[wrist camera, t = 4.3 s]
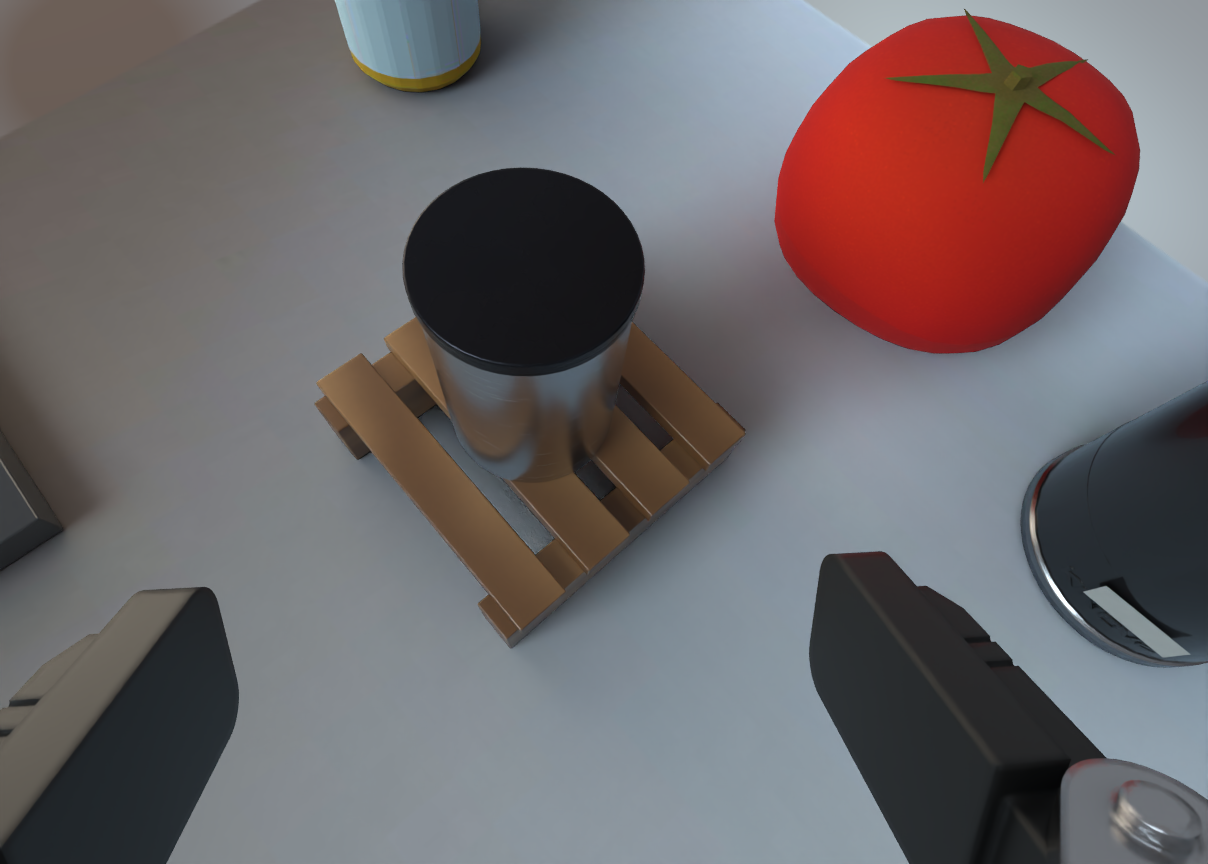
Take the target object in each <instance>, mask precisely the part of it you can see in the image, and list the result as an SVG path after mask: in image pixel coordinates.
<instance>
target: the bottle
mask: <svg viewBox="0 0 1208 864" xmlns="http://www.w3.org/2000/svg"><path fill="white" fill-rule="evenodd" d="M335 2H336V6H337V9H338V12H339V16H340V19H341V23H342V26H343V29H344V33H345V36H346V39H347V43H348V46H349V48H350V51H351V54H352V57H353V59H354V61H355V62H356V64H357V65H358V66H359V67H360V69H361V70H362V71H363V72H364V73H366V74H367V75H369V76H370V77H372V78H374V79H375V80H377V81H379V82H380V83H382V84H384V85H386V86H388V87H391V88H395V89H398V90H401V91H409V92H425V91H431V90H437V89H441V88H443V87H445V86H447V85H450V84H452V83H454V82H455V81H457V80H458V79H459V78H460V77H461V76H463V75H464V74H465V73H466V72H467V71H468V70H469V69H470V68H471V67H472V65H473V64H474V62H475V61H476V59H477V57H478V55H479V53H480V48H481V34H480V31H481V28H480V18H479V8H478V0H335Z"/></svg>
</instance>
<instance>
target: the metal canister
mask: <svg viewBox="0 0 1208 864" xmlns="http://www.w3.org/2000/svg"><path fill="white" fill-rule="evenodd" d="M402 265H403V280H404V285H405V289H406V293H407V296H408V299H409V302H410V304H411V307H412V310H413V312H414V314H415V316H416V318H417V320H418V321H419V323H420V325H421V326H422V330H423V333H424V336H425V339H426V342H427V345H428V348H429V352H430V355H431V358H432V361H433V364H434V367H435V370H436V374H437V377H438V380H439V383H440V386H441V389H442V392H443V395H444V399H445V402H446V405H447V408H448V411H449V414H450V417H451V421H452V424H453V427H454V430H455V433H456V435H457V438H458V440H459V442H460V444H461V445H462V447H463V449H464V450H465V451H466V452H467V454H468V455H469V456H470V457H471V458H472V459H473V460H474V461H475V462H476V463H477V464H478V465H480V466H481V467H482V468H484V469H485V470H487V471H489V472H490V473H492V474H494V475H497V476H499V477H501V478H504V479H508V480H512V481H516V482H524V483H539V482H547V481H552V480H556V479H559V478H562V477H564V476H567V475H569V474H571V473H573V472H575V471H577V470H578V469H580V468H581V467H582V466H584V465H585V464H586V463H588V462H589V461H590V460H591V459H592V458H593V457H594V456H595V454H596V453H597V452H598V451H599V450H600V448H601V446H602V445H603V443H604V442H605V440H606V437H607V435H608V433H609V430H610V426H611V422H612V417H613V412H614V407H615V402H616V397H617V393H618V388H619V383H620V378H621V373H622V368H623V363H624V358H625V353H626V348H627V343H628V338H629V334H630V329H631V324H632V319H633V317H634V315H635V312H636V310H637V308H638V305H639V301H640V297H641V294H642V289H643V284H644V275H645V264H644V255H643V250H642V246H641V243H640V240H639V237H638V235H637V233H636V231H635V229H634V227H633V225H632V223H631V222H630V220H629V219H628V217H627V216H626V215H625V213H624V212H623V211H622V210H621V209H620V208H619V207H618V205H617V204H616V203H615V202H614V201H613V200H611V199H610V198H609V197H608V196H606V195H605V194H604V193H603V192H601V191H600V190H598V189H596V188H595V187H593V186H592V185H590V184H588V183H586V182H584V181H582V180H580V179H577V178H575V177H572V176H569V175H566V174H563V173H559V172H555V171H551V170H545V169H538V168H507V169H500V170H494V171H490V172H486V173H482V174H478V175H476V176H473V177H471V178H468V179H465V180H463V181H461V182H459V183H458V184H456V185H454V186H452V187H450V188H449V189H447V190H446V191H445V192H443V193H442V194H440V195H439V196H438V197H437V198H436V199H434V200H433V201H432V202H431V203H430V204H429V205H428V206H427V207H426V209H425V210H424V211H423V212H422V213H421V215H420V216H419V218H418V219H417V221H416V222H415V224H414V225H413V227H412V230H411V232H410V234H409V236H408V239H407V242H406V246H405V249H404V255H403V263H402Z"/></svg>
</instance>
